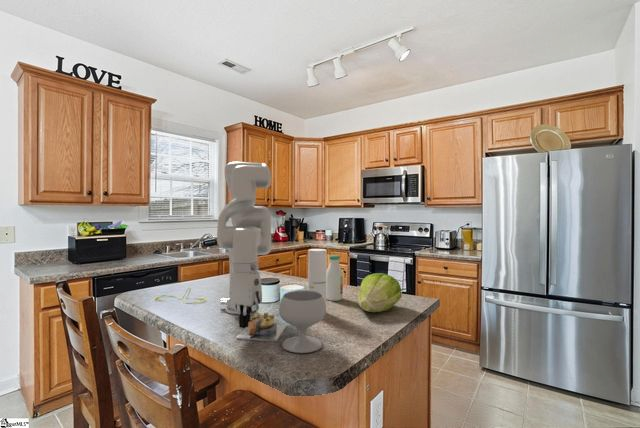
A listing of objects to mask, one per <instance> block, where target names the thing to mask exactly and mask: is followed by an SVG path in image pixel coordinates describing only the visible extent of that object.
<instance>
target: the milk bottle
mask: <svg viewBox="0 0 640 428" xmlns="http://www.w3.org/2000/svg"><path fill="white" fill-rule="evenodd" d="M343 278H344V277H343V270H342V267H341V266H340V255H339V254H334V255H333V254H331V255H329V264H328V267H327V268H326V301H327V300H328V301H332V302H334V301H335V302H337V301H341V300H343V298H344V297H343V293H344V292H343V291H344V290H343V285H344V283H343Z"/></svg>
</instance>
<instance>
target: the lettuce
mask: <svg viewBox="0 0 640 428" xmlns="http://www.w3.org/2000/svg"><path fill="white" fill-rule="evenodd" d="M401 298H402V288H401V284H400V282H399V281H398V280H397V279H396V278H395V277H394V276H391V275H389V274H386V273H384V272H383V273H382V272H381V273H380V272H378V273H377V272H375V273H371V274H369V275H366V276H365V277H364V278H363V279H362V281H361V283H360V287H359V292H358V296H357V303H358V306H359V307H360V308H361V309H362V310H363V311H364V312H365V311H366V312H369V313H381V312H384V311H389V310H390V309H391V308H392V307H393V306H394V305H396V304H397V303H398V302H399V301H400V300H401Z"/></svg>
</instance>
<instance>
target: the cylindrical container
mask: <svg viewBox="0 0 640 428" xmlns="http://www.w3.org/2000/svg"><path fill="white" fill-rule="evenodd" d="M307 252H308V254H307V255H308V260H307V261H308V262H307V265H308V267H307V268H308V269H307V270H308V271H307V273H308V274H307V283H308V284H307V291H314V292H318V293H320V294H322V296H323V298H324V301H325V304H326V305H327V299H326V272H327V252H328V251H327V249H325V248H311V249H310V248H309V249H308V250H307Z"/></svg>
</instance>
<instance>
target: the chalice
mask: <svg viewBox="0 0 640 428" xmlns="http://www.w3.org/2000/svg"><path fill="white" fill-rule="evenodd" d="M278 310H279V311H278V313H279V314H278V315H279V316H280V318H281V320H283V321H284V322H285V323H287V324H289V325H291V326H293V327H295V328H296V329H297V330H298V332H299V335H298V336H292V337H288V338H287V339H285V340H284V341H283V342H282V344H281V346H282V348H283V349H284V350H285V351H287V352H291V353H295V354H296V353H297V354H304V353H305V354H307V353H312V352H316V351H318V350H320V349H321V348H322V347H323V345H324V343H323V341H322V340H320V339H319V338H318V337H315V336H310V335H307V330H308V329H309V328H310V327H312V326H314V325H316V324H318V323H320V322H321V321H322V320H323V319H324V318H325V316H326V314H327V303H326V304H325V301H324V298H323V296H322V294H320V293H318V292H314V291H308V290H293V291H292V290H291V291H288V292H286V293H284V294H283V295H282V297H281V298H280V302H279V308H278Z"/></svg>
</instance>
